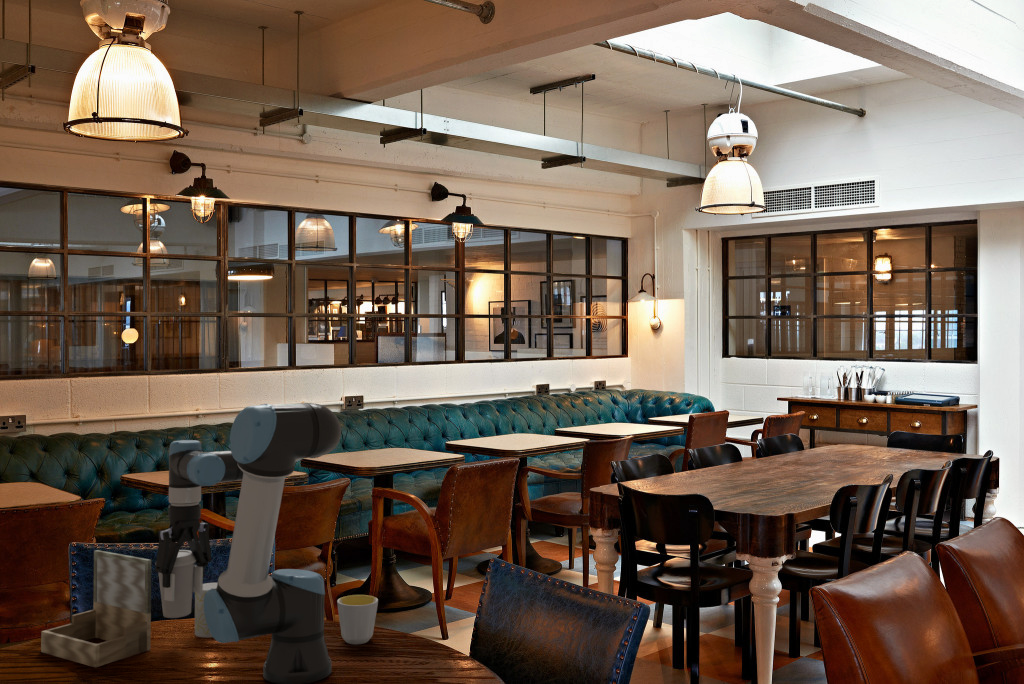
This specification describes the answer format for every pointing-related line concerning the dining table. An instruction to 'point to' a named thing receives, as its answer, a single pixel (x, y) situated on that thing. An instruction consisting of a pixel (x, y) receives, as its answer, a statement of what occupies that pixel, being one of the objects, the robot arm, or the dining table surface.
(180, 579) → the coffee cup
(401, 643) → the dining table surface
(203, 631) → the white cylinder
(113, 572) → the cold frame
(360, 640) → the mug
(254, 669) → the dining table surface
